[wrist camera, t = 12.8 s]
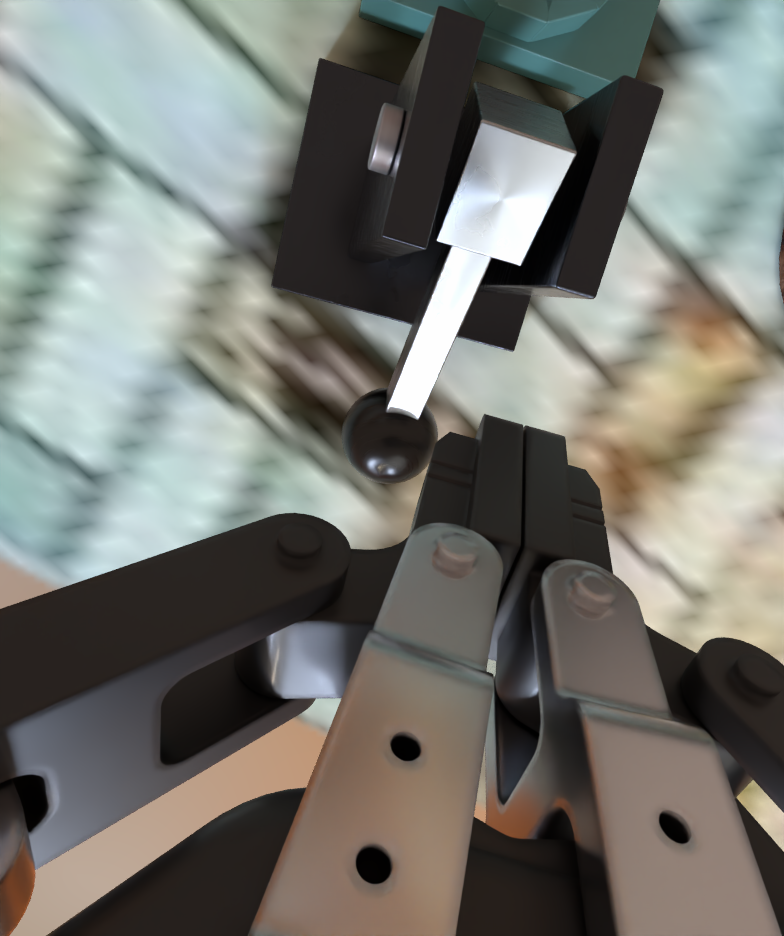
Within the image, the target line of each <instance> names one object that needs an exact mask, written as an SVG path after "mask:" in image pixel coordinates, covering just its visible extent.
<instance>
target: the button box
mask: <svg viewBox="0 0 784 936" xmlns="http://www.w3.org/2000/svg"><path fill="white" fill-rule="evenodd" d="M659 2H660V0H362V1H361V6H360V11H359V17H361V18H364V19H367V20H369V21H372V22H375V23H378V24H380V25H383V26H386V27H389V28H392V29H394V30H397V31H400V32H403V33H405V34H408V35H411V36H414V37H417V38H419V39H422V38H423V36H424V34H425V32H426V30H427V28H428V26H429V24H430V22H431V20H432V18H433V16H434V14H435V12H436V10H437V8H438V6H444V7H446V8H449V9H452V10H454V11H457V12H460V13H462V14H465V15H468V16H470V17H473V18H476V19H478V20H481V21H483V22H485V29H484V33H483V36H482V40H481V44H480V48H479V52H478V55H477V59H478V60H481V61H483V62H486V63H489V64H492V65H494V66H497V67H500V68H503V69H506V70H508V71H511V72H514V73H517V74H520V75H522V76H525V77H528V78H531V79H533V80H536V81H539V82H542V83H545V84H547V85H550V86H553V87H556V88H558V89H561V90H564V91H567V92H570V93H572V94H575V95H578V96H581V97H583V98H586V99H587V98H588V97H590V96H591V95H593V94H594V93H596V92H597V91H599V90H601V89H602V88H604V87H605V86H607V85H608V84H610V83H611V82H613V81H615V80H616V79H618V78H619V77H621V76H622V75H627V76H630V77H632V78H635V77H636V74H637V71H638V68H639V65H640V61H641V58H642V55H643V52H644V49H645V46H646V43H647V40H648V36H649V33H650V30H651V27H652V24H653V21H654V18H655V15H656V11H657V8H658V5H659Z"/></svg>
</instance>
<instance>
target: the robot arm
mask: <svg viewBox="0 0 784 936" xmlns="http://www.w3.org/2000/svg"><path fill="white" fill-rule="evenodd" d="M601 510H602V502H601V495H600V489H599V488H598V486H597V485H596V483H595V482H594V481H593V479H592V478H591V477H590V475H589V474H588V472H587V471H586V470H585V469H581V468H578V467H574V466H570V465H568V462H567V451H566V440H565V437H564V436H562V435H558V434H555V433H551V432H547V431H544V430H540V429H537V428H533V427H529V426H524V428H523V425H522V424H518V423H515V422H511V421H507V420H504V419H500V418H497V417H493V416H489V415H486V414H484V416H483V418H482V420H481V423H480V426H479V428H478V431H477V434H476V437H475V439H474V438H470V437H467V436H463V435H459V434H456V433H452V432H449V433H448V434H447V435H445V436H444V437H443V438H441V439H440V440H439V441H437V442H436V443H435V446H434V449H433V453H432V456H431V460H430V463H429V466H428V470H427V473H426V476H425V480H424V483H423V487H422V490H421V493H420V497H419V500H418V503H417V507H416V511H415V514H414V518H413V522H412V526H411V530H410V534H409V537H407V538H406V539H405V540H404V541H402V542H401V543H399V544H397V545H395V546H392V547H388V548H384V549H377V550H361V549H351V548H350V545H349V542H348V541H347V539H346V537H345V536H344V535H343V533H342V532H341V531H340V530H339V529H337V528H336V527H335V526H334V525H332V524H330V523H329V522H327V521H325V520H323V519H320V518H317V517H314V516H311V515H306V514H298V513H285V514H278V515H274V516H270V517H267V518H264V519H262V520H259V521H256V522H253V523H250V524H247V525H244V526H241V527H238V528H235V529H232V530H229V531H227V532H224V533H221V534H218V535H215V536H212V537H209V538H206V539H203V540H200V541H197V542H194V543H192V544H189V545H186V546H183V547H180V548H177V549H174V550H171V551H168V552H165V553H162V554H159V555H157V556H154V557H151V558H148V559H145V560H142V561H139V562H136V563H133V564H130V565H127V566H124V567H122V568H119V569H116V570H113V571H110V572H107V573H104V574H101V575H98V576H95V577H92V578H89V579H87V580H84V581H81V582H78V583H75V584H72V585H69V586H66V587H63V588H60V589H57V590H54V591H52V592H49V593H46V594H43V595H40V596H37V597H34V598H32V599H28V600H25V601H22V602H19V603H17V604H14V605H11V606H8V607H5V608H2V609H0V936H9V935H10V934H11V933H12V931H13V930H14V929H15V928H16V926H17V925H18V923H19V921H20V920H21V918H22V916H23V915H24V913H25V911H26V909H27V906H28V904H29V902H30V899H31V896H32V892H33V888H34V882H35V870H36V869H38V868H40V867H41V866H43V865H45V864H47V863H48V862H50V861H52V860H53V859H55V858H57V857H59V856H60V855H62V854H64V853H65V852H67V851H69V850H70V849H72V848H74V847H75V846H77V845H79V844H81V843H82V842H84V841H86V840H87V839H89V838H91V837H92V836H94V835H96V834H97V833H99V832H101V831H103V830H104V829H106V828H108V827H109V826H111V825H113V824H114V823H116V822H117V821H119V820H121V819H123V818H125V817H126V816H128V815H130V814H131V813H133V812H135V811H136V810H138V809H139V808H141V807H143V806H145V805H146V804H148V803H150V802H152V801H153V800H155V799H157V798H158V797H160V796H162V795H164V794H165V793H167V792H168V791H170V790H172V789H174V788H175V787H177V786H179V785H180V784H182V783H184V782H186V781H187V780H189V779H191V778H192V777H194V776H196V775H197V774H199V773H201V772H203V771H204V770H206V769H208V768H209V767H211V766H212V765H214V764H216V763H218V762H219V761H221V760H223V759H224V758H226V757H228V756H229V755H231V754H233V753H235V752H236V751H238V750H240V749H241V748H243V747H245V746H246V745H248V744H250V743H252V742H253V741H255V740H257V739H258V738H260V737H262V736H263V735H265V734H267V733H268V732H270V731H272V730H273V729H275V728H277V727H279V726H280V725H282V724H284V723H286V722H287V721H289V720H291V719H292V718H294V717H296V716H297V715H299V714H301V713H302V712H304V711H305V710H306V709H308V708H309V707H310V706H311V705H312V704H313V702H314V701H315V699H316V698H342V699H341V702H340V704H339V707H338V709H337V712H336V714H335V717H334V719H333V722H332V724H331V727H330V729H329V732H328V734H327V737H326V740H325V742H324V745H323V748H322V750H321V752H320V755H319V757H318V760H317V762H316V765H315V767H314V770H313V772H312V775H311V777H310V780H309V783H308V785H307V787H306V788H297V789H288V790H283V791H279V792H275V793H270V794H266V795H263V796H260V797H258V798H255V799H252V800H250V801H247V802H245V803H242V804H240V805H238V806H236V807H234V808H232V809H231V810H229V811H227V812H225V813H223V814H221V815H220V816H218V817H217V818H215V819H214V820H212V821H210V822H209V823H207V824H206V825H204V826H203V827H202V828H200V829H199V830H197V831H196V832H194V833H193V834H192V835H190V836H189V837H187V838H186V839H184V840H183V841H181V842H180V843H179V844H177V845H176V846H174V847H173V848H172V849H170V850H169V851H167V852H166V853H164V854H163V855H161V856H160V857H159V858H157V859H156V860H154V861H153V862H151V863H150V864H149V865H148V866H146V867H144V868H143V869H141V870H140V871H138V872H137V873H136V874H134V875H133V876H131V877H130V878H128V879H127V880H125V881H124V882H123V883H121V884H120V885H118V886H117V887H115V888H114V889H113V890H111V891H110V892H109V893H107V894H106V895H104V896H103V897H101V898H100V899H98V900H97V901H96V902H94V903H93V904H91V905H90V906H88V907H87V908H85V909H84V910H82V911H81V912H80V913H78V914H77V915H75V916H74V917H73V918H71V919H70V920H68V921H67V922H65V923H64V924H62V925H61V926H60V927H58V928H57V929H55V930H54V931H52V932H51V933H49V934H48V935H47V936H784V852H783V851H782V849H781V848H780V847H779V846H778V845H777V844H776V843H775V841H774V840H773V839H772V838H771V837H770V836H769V835H768V833H767V832H766V831H765V830H764V829H763V828H762V827H761V825H760V824H759V823H758V822H757V821H756V820H755V819H754V818H753V816H752V815H751V814H750V813H749V812H748V811H747V810H746V808H745V807H744V806H743V805H742V804H741V803H740V802H739V800H738V799H737V798H736V797H737V796H738V795H739V794H740V793H741V792H742V791H743V790H744V789H745V787H746V786H747V785H748V784H749V783H750V782H751V781H752V780H754V781H755V782H756V783H757V784H758V785H759V786H760V787H761V788H762V790H763V791H764V792H765V793H766V794H767V795H768V796H769V797H770V798H771V799H772V800H773V802H774V803H775V804H776V805H777V806H778V807H779V808H780V809H781V810H782V811H783V812H784V665H783V664H781V663H780V662H779V661H778V660H777V659H775V658H774V657H772V656H771V655H770V654H768V653H766V652H765V651H763V650H761V649H760V648H758V647H756V646H753V645H751V644H749V643H746V642H744V641H741V640H737V639H733V638H725V637H723V638H714V639H711V640H709V641H707V642H706V643H705V644H704V645H703V646H702V647H701V648H700V650H699V651H698V653H695V652H693V651H691V650H689V649H688V648H686V647H684V646H682V645H680V644H678V643H676V642H674V641H672V640H671V639H669V638H667V637H665V636H663V635H661V634H660V633H658V632H656V631H654V630H653V629H651V628H650V627H648V626H647V625H646V624H645V623H644V620H643V616H642V613H641V609H640V606H639V603H638V601H637V599H636V597H635V596H634V594H633V592H632V591H631V590H630V589H629V587H628V586H627V585H626V584H625V583H624V582H623V581H621V580H620V579H619V578H618V577H616V576H615V575H614V574H613V570H612V564H611V558H610V552H609V545H608V539H607V533H606V527H605V526H604V523H605V520H604V514H603V511H601ZM488 659H491V660H495V661H496V675H495V677H494V676H493V674H492V673H489V672H486V669H487V663H488ZM484 746H485V762H486V823H484V822H482V821H480V820H479V819H477V818H475V817H474V811H475V805H476V798H477V792H478V785H479V779H480V772H481V766H482V759H483V753H484Z"/></svg>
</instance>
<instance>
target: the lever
mask: <svg viewBox="0 0 784 936" xmlns="http://www.w3.org/2000/svg"><path fill="white" fill-rule="evenodd" d="M576 155H577V150H576V148H575V145H574V143H573V140H572V138H571V135H570V133H569V130H568V128H567V125H566V123H565V120H564V118H563V116H562V113H561V112H560V111H559V110H556V109H553V108H550V107H548V106H545V105H542V104H539V103H536V102H533V101H531V100H528V99H525V98H522V97H519V96H516V95H514V94H511V93H508V92H505V91H502V90H499V89H496V88H494V87H491V86H488V85H485V84H482V83H479V82H474V84H473V86H472V89H471V92H470V95H469V98H468V101H467V103H466V106H465V109H464V112H463V115H462V118H461V120H460V123H459V127H458V131H457V135H456V139H455V142H454V146H453V150H452V154H451V158H450V161H449V165H448V169H447V173H446V176H445V180H444V184H443V188H442V192H441V195H440V199H439V203H438V207H437V211H436V214H435V226H436V241H438V242H441V243H444V244H443V247H442V249H441V252H440V255H439V257H438V260H437V262H436V265H435V268H434V270H433V273H432V275H431V278H430V281H429V283H428V286H427V288H426V291H425V293H424V296H423V299H422V301H421V304H420V306H419V309H418V312H417V314H416V317H415V319H414V322H413V325H412V327H411V330H410V332H409V335H408V338H407V340H406V343H405V345H404V348H403V350H402V353H401V356H400V358H399V361H398V363H397V366H396V369H395V371H394V374H393V376H392V379H391V382H390V384H389V387H388V388H381V389H377V390H374V391H371V392H369V393H367V394H365V395H364V396H362V397H361V398H359V399H358V400H357V401H356V402H355V403H354V404H353V405H352V407H351V408H350V410H349V411H348V413H347V415H346V417H345V420H344V423H343V427H342V444H343V449H344V452H345V455H346V457H347V459H348V460H349V462H350V464H351V465H352V466H353V467H354V468H355V469H356V470H357V471H358V472H359V473H360V474H361V475H363V476H364V477H366V478H368V479H370V480H372V481H375V482H379V483H384V484H395V483H401V482H405V481H407V480H410V479H412V478H413V477H415V476H417V475H418V474H419V473H421V472H422V471H423V470H424V469H425V468H426V467H427V465H428V464H429V463H430V460H431V456H432V453H433V449H434V446H435V443H436V442H437V440H438V432H437V425H436V422H435V419H434V416H433V414H432V412H431V411H430V409H429V407H428V406H427V405H426V402H427V400H428V398H429V396H430V393H431V391H432V389H433V387H434V385H435V382H436V380H437V378H438V376H439V374H440V371H441V369H442V367H443V365H444V363H445V360H446V358H447V356H448V354H449V352H450V349H451V347H452V345H453V343H454V341H455V338H456V336H457V334H458V332H459V330H460V327H461V325H462V323H463V321H464V319H465V316H466V314H467V312H468V310H469V308H470V305H471V303H472V301H473V299H474V297H475V294H476V292H477V290H478V288H479V286H480V283H481V281H482V279H483V277H484V275H485V272H486V270H487V268H488V266H489V264H490V261H491V259H492V258H495V259H498V260H501V261H505V262H508V263H511V264H515V265H518V266H521V265H522V264H523V262H524V260H525V258H526V256H527V254H528V252H529V250H530V248H531V246H532V244H533V242H534V240H535V238H536V236H537V234H538V232H539V230H540V228H541V226H542V224H543V222H544V219H545V217H546V215H547V213H548V211H549V209H550V207H551V205H552V203H553V201H554V199H555V197H556V195H557V193H558V191H559V189H560V187H561V185H562V183H563V181H564V179H565V177H566V175H567V173H568V171H569V169H570V167H571V165H572V163H573V161H574V159H575V157H576Z"/></svg>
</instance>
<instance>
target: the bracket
mask: <svg viewBox="0 0 784 936" xmlns="http://www.w3.org/2000/svg"><path fill="white" fill-rule="evenodd" d="M484 29H485V22H483V21H481V20H478V19H476V18H473V17H470V16H468V15H465V14H462V13H460V12H457V11H454V10H452V9H449V8H446V7H444V6H438V8H437V10H436V12H435V14H434V16H433V18H432V20H431V22H430V24H429V26H428V28H427V30H426V32H425V34H424V36H423V38H422V40H421V42H420V44H419V47H418V49H417V51H416V53H415V55H414V57H413V59H412V61H411V63H410V65H409V67H408V69H407V71H406V73H405V75H404V77H403V79H402V81H401V83H400V85H398V84H395V83H392V82H389V81H386V80H383V79H380V78H377V77H374V76H372V75H369V74H366V73H363V72H360V71H357V70H354V69H351V68H348V67H345V66H342V65H339V64H337V63H334V62H331V61H328V60H325V59H322V58H320V59H319V61H318V66H317V71H316V75H315V80H314V85H313V90H312V94H311V99H310V104H309V109H308V113H307V118H306V123H305V128H304V132H303V137H302V142H301V147H300V151H299V156H298V161H297V165H296V170H295V175H294V180H293V184H292V189H291V194H290V199H289V203H288V208H287V213H286V218H285V222H284V227H283V232H282V237H281V241H280V246H279V251H278V256H277V260H276V265H275V270H274V275H273V279H272V284H271V287H273V288H277V289H281V290H284V291H288V292H292V293H296V294H299V295H303V296H307V297H311V298H314V299H318V300H322V301H325V302H329V303H333V304H337V305H340V306H344V307H348V308H351V309H355V310H359V311H363V312H366V313H370V314H374V315H377V316H381V317H385V318H389V319H392V320H396V321H400V322H403V323H407V324H411V325H413V322H414V319H415V317H416V314H417V312H418V309H419V306H420V304H421V301H422V299H423V296H424V293H425V291H426V288H427V286H428V283H429V281H430V278H431V275H432V273H433V270H434V268H435V265H436V262H437V260H438V257H439V255H440V252H441V249H442V247H443V244H444V243H441V242H438V241H436V226H435V214H436V211H437V207H438V203H439V199H440V195H441V192H442V188H443V184H444V180H445V176H446V173H447V169H448V165H449V161H450V158H451V154H452V150H453V146H454V142H455V139H456V135H457V131H458V127H459V123H460V120H461V118H462V115H463V112H464V109H465V107H464V105H465V101H466V97H467V93H468V89H469V86H470V82H471V78H472V74H473V71H474V67H475V63H476V59H477V55H478V52H479V48H480V44H481V40H482V36H483V33H484ZM662 95H663V89H662V88H659V87H657V86H654V85H651V84H649V83H646V82H643V81H641V80H638V79H635V78H632V77H630V76H627V75H622V76H621V77H619V78H618V79H616V80H615V81H613V82H611V83H610V84H608V85H607V86H605V87H604V88H602V89H601V90H599V91H597V92H596V93H594V94H593V95H591V96H590V97H588V98H587V99H585V100H584V101H582V102H580V103H579V104H577V105H576V106H574V107H573V108H571V109H570V110H568V111H567V112H565V113H563V114H562V116H563V118H564V120H565V123H566V125H567V128H568V130H569V133H570V135H571V138H572V140H573V143H574V145H575V148H576V150H577V155H576V157H575V159H574V161H573V163H572V165H571V167H570V169H569V171H568V173H567V175H566V177H565V179H564V181H563V183H562V185H561V187H560V189H559V191H558V193H557V195H556V197H555V199H554V201H553V203H552V205H551V207H550V209H549V211H548V213H547V215H546V217H545V219H544V222H543V224H542V226H541V228H540V230H539V232H538V234H537V236H536V238H535V240H534V242H533V244H532V246H531V248H530V250H529V252H528V254H527V256H526V258H525V260H524V262H523V264H522V265H521V266H518V265H515V264H511V263H508V262H505V261H501V260H498V259H495V258H492V259H491V261H490V264H489V266H488V268H487V270H486V272H485V275H484V277H483V279H482V281H481V283H480V286H479V288H478V290H477V292H476V294H475V297H474V299H473V301H472V303H471V305H470V308H469V310H468V312H467V314H466V316H465V319H464V321H463V323H462V325H461V327H460V330H459V332H458V334H457V336H456V337H459V338H463V339H467V340H470V341H474V342H478V343H482V344H485V345H489V346H493V347H496V348H500V349H504V350H508V351H511V352H513V351H514V349H515V346H516V343H517V340H518V336H519V333H520V330H521V327H522V323H523V320H524V317H525V314H526V310H527V307H528V304H529V301H530V297H531V295H534V296H549V297H565V298H581V299H594V298H595V297H596V294H597V291H598V288H599V285H600V282H601V279H602V276H603V273H604V270H605V267H606V264H607V261H608V258H609V255H610V252H611V249H612V246H613V243H614V240H615V237H616V234H617V231H618V228H619V225H620V222H621V220H622V218H623V215H624V213H625V210H626V207H627V203H628V198H629V195H630V192H631V189H632V186H633V183H634V180H635V177H636V174H637V171H638V168H639V165H640V162H641V159H642V156H643V153H644V150H645V147H646V144H647V141H648V138H649V134H650V131H651V128H652V125H653V122H654V119H655V116H656V113H657V110H658V107H659V104H660V101H661V98H662Z"/></svg>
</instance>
